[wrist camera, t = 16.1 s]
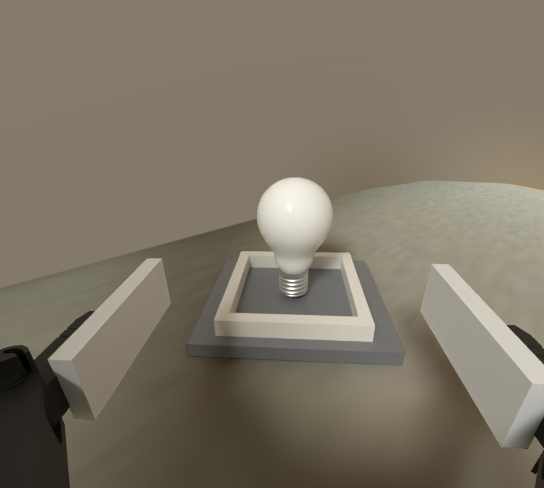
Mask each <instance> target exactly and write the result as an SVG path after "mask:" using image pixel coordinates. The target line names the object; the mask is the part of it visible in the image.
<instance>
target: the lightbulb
mask: <svg viewBox="0 0 544 488" xmlns="http://www.w3.org/2000/svg"><path fill="white" fill-rule="evenodd" d="M256 218H257V225H258V228H259V231H260V233H261V235H262V237H263V238H264V240H265V241H266V243H267V244H268V245H269V246H270V248H271V249H272V251H273V253H274V256H275V261H276V264H277V266H278V267H279V290H280V292H281V293H282V294H284V295H286V296H290V297H298V296H301V295H303V294H305V293H306V292H307V287H308V269H309V267H310V265H311V263H312V260H313V256H314V254H315V252H316V250H317V249H318V248H319V247H320V245H321V244H322V243H323V242H324V241H325V239H326V238H327V236H328V234H329V233H330V230H331V228H332V224H333V207H332V203H331V201H330V198H329V197H328V195H327V193H326V192H325V191H324V190H323V189H322V188H321V187H320V186H319V185H317V184H316V183H315V182H313V181H311V180H308V179H304V178H299V177H291V178H285V179H282V180H280V181H278V182H276V183H274V184H273V185H271V186H270V187H269V188H268V189H267V190H266V191H265V192H264V194H263V195H262V197H261V199H260V201H259V204H258V207H257V215H256Z"/></svg>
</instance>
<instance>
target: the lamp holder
mask: <svg viewBox="0 0 544 488" xmlns="http://www.w3.org/2000/svg"><path fill="white" fill-rule="evenodd" d="M187 350H188V355H189V356H201V357H224V358H246V359H268V360H291V361H313V362H335V363H358V364H380V365H402V364H403V359H404V354H405V352H404V350H403V348H402V346H401V343H400V341H399V339H398V336H397V334H396V332H395V329H394V327H393V325H392V322H391V320H390V318H389V315H388V313H387V311H386V308H385V306H384V304H383V301H382V299H381V297H380V295H379V292H378V290H377V288H376V285H375V283H374V281H373V278H372V276H371V274H370V271H369V269H368V267H367V264H366V262H365V261H352V258H351V255H350V253H331V252H315V254H314V256H313V260H312V263H311V265H310V267H309V269H308V287H307V292H306V293H305V294H303V295H301V296H298V297H290V296H286V295H284V294H282V293H281V292H280V290H279V267H278V266H277V264H276V261H275V256H274V253H273V252H257V251H241V253H240V256H239V258H238V259H227V260H226V262H225V264H224V266H223V268H222V270H221V272H220V274H219V277H218V279H217V281H216V283H215V285H214V287H213V289H212V291H211V293H210V296H209V298H208V300H207V302H206V304H205V306H204V308H203V310H202V312H201V314H200V317H199V319H198V321H197V323H196V325H195V327H194V329H193V331H192V333H191V335H190V338H189V340H188V342H187Z"/></svg>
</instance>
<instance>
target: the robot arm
mask: <svg viewBox="0 0 544 488" xmlns="http://www.w3.org/2000/svg"><path fill="white" fill-rule="evenodd" d="M170 304H171V302H170V297H169V292H168V287H167V282H166V277H165V272H164V267H163V262H162V259H154V258H147V259H146V260H145V261H144V262H143V263H142V264H141V265H140V266H139V267H138V268H137V269H136V270H135V271H134V272H133V273H132V274H131V275H130V276H129V277H128V278H127V279H126V280H125V281H124V282H123V284H122V285H121V286H120V287H119V288H118V289H117V290H116V291H115V292H114V293H113V294H112V295H111V296H110V297H109V298H108V299H107V300H106V301H105V302H104V303H103V304H102V305H101V306H100V307H99V308H98V309H97V310H96V311H89V312H87V313H86V314H84V315H83V316H81V317H79V318H78V319H76V320H75V321H74V322H73V323H72V324H71V325H70V326H69V327H68V328H67V330H65V331H64V332H63V333H62V334H61V335H60V337H59V338H57V339H56V340H54V341H53V342H52V343H51V344H50V345H49V346H48V347H47V348H46V349H45V350H44V351H43V352H42V353H41V354H40V355H39V356H38V357H37V358H36V359H35V360H33V358H32V355H31V353H30V351H29V349H28V347H25V346H23V345H18V346H11V347H7V348H3V349H1V350H0V488H70V485H69V473H68V461H67V448H66V436H65V424H64V422H63V419H62V416H63V415H64V414H65V412H66V411H67V410H68V408H69V407H70V410H71V412H72V414H73V416H74V418H75V419H87V420H96V419H97V417H98V416H99V414H100V413H101V411H102V410H103V408H104V406H105V405H106V403H107V402H108V400H109V399H110V397H111V396H112V394H113V392H114V391H115V389H116V388H117V386H118V385H119V383H120V382H121V380H122V379H123V377H124V375H125V374H126V372H127V371H128V369H129V368H130V366H131V365H132V363H133V361H134V360H135V358H136V357H137V355H138V354H139V352H140V351H141V349H142V347H143V346H144V344H145V343H146V341H147V340H148V338H149V337H150V335H151V333H152V332H153V330H154V329H155V327H156V326H157V324H158V323H159V321H160V319H161V318H162V316H163V315H164V313H165V312H166V310H167V309H168V307H169V306H170ZM420 312H421V314H422V315H423V317H424V319H425V320H426V322H427V324H428V325H429V327H430V329H431V330H432V332H433V334H434V335H435V337H436V339H437V340H438V342H439V344H440V345H441V347H442V349H443V351H444V352H445V354H446V356H447V357H448V359H449V361H450V362H451V364H452V366H453V367H454V369H455V371H456V372H457V374H458V376H459V377H460V379H461V381H462V382H463V384H464V386H465V387H466V389H467V391H468V393H469V394H470V396H471V398H472V399H473V401H474V403H475V404H476V406H477V408H478V409H479V411H480V413H481V414H482V416H483V418H484V419H485V421H486V423H487V424H488V426H489V428H490V429H491V431H492V433H493V435H494V436H495V438H496V440H497V441H498V443H499V445H500V446H501V447H507V448H522V449H528V447H529V445H530V444H531V442H532V440H533V438H534V436H535V437H536V438H537V439H538V441H539V442H540V444H541V445H542V446H543V448H544V349H542V346H541V345H540V344H539V343H538V342H537V341H536V340H535V339H534V338H533V337H532V336H531V335H530V334H528V333H526V332H525V331H523V330H522V329H520V328H518V327H517V326H515V325H506V324H505V323H504V322H503V321H502V320H501V319H500V318H499V317H498V316H497V315H496V314H495V313H494V312H493V311H492V310H491V309H490V308H489V306H488V305H487V304H486V303H485V302H484V301H483V300H482V299H481V298H480V297H479V296H478V295H477V294H476V293H475V292H474V291H473V290H472V289H471V288H470V286H469V285H468V284H467V283H466V282H465V281H464V280H463V279H462V278H461V277H460V276H459V275H458V274H457V273H456V272H455V271H454V270H453V269H452V268H451V266H450V265H449V264H431V268H430V273H429V277H428V281H427V285H426V290H425V294H424V298H423V302H422V306H421V311H420ZM531 472H533V473H534V474H536V473H537V478H536V484H535V488H544V450H543V452H542V454H541V455H540V457H539V459H538V460H537V462H536V464H535V465H534V467H533V469H532V470H531Z"/></svg>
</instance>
